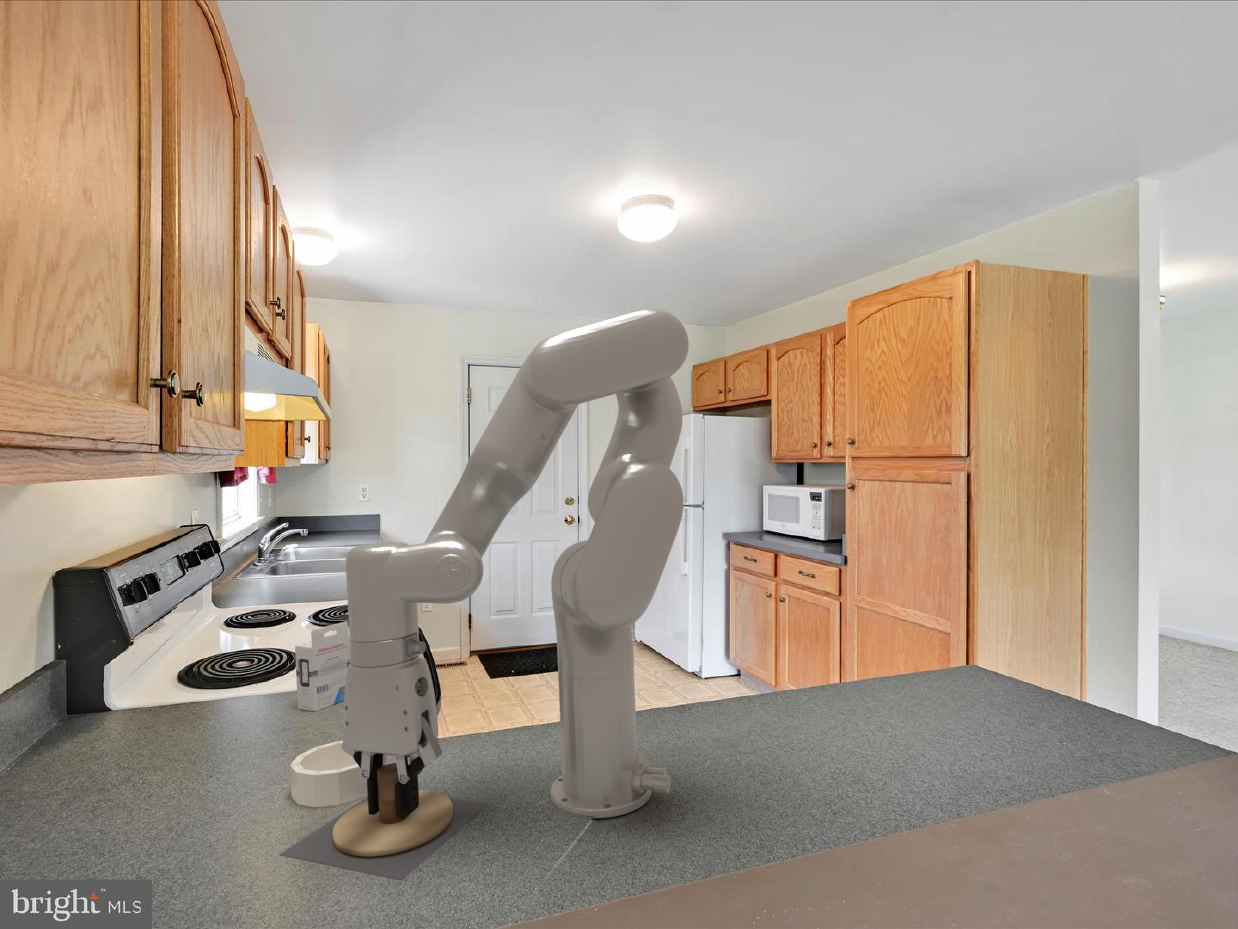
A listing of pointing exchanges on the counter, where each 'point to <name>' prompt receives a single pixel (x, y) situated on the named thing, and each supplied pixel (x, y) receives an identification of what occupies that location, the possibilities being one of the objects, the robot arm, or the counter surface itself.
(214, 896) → the counter surface
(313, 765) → the bowl
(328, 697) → the ink box
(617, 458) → the robot arm
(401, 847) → the lid
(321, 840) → the mat
